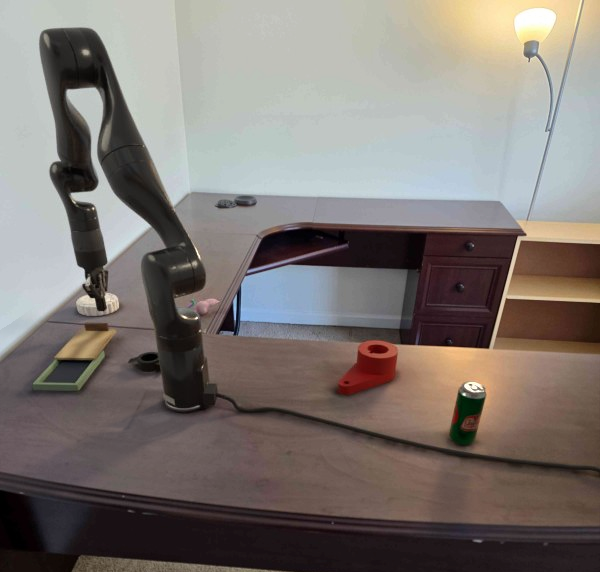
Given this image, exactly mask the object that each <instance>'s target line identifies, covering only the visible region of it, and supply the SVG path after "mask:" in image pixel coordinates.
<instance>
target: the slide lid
mask: <svg viewBox="0 0 600 572" xmlns="http://www.w3.org/2000/svg"><path fill="white" fill-rule="evenodd" d="M116 333H117V329H115V328H111V329H110V327H109V323H108V322H85V323H84V328H80V329H79V330H78V331H77V332H76V333H75V334H74V336H73V337H71V339H70V340H69V341H68V342H67V343H66V344H65V345H64V346H63V347H62V348H61V349H60V350H59V351H58V352H57V354H56V355H55V356H54V357H53V359H54V360H95V358H96V357H97V356H98V355H99V353H100V352H101V351H102V350H104V348H105V347H106V346H107V345H108V343H109V342H110V341H111V339H113V337H114V336H115V334H116Z"/></svg>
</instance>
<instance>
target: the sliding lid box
mask: <svg viewBox="0 0 600 572" xmlns="http://www.w3.org/2000/svg"><path fill="white" fill-rule="evenodd" d="M105 357H106V356H105V350H104V349H103V350H102V351H101V352H100V353H99V355H98V356H97V357H96V358H95V360H93V361H92V362H91V363H90V365H89V366H88V367H87V369H86V370H85V371H84V372H83V374H82V375H81V376H80V377H79V379H78V380H77V381H76V383H44V381H45V380H46V379H47V378H48V377H49V376H50V375H51V374H52V373H53V371H54V370H55V369H56V368H57V367H58V366H59V365H60V364H61V362H62V361H63V360H55V359H54V360H53V361H52V362H51V363H50V364H49V366H48V367H47V368H46V369H44V371H43V372H42V373H41V374H40V375H39V376H38V378H36V379H35V381H34V382H33V383H32V387H33V391H59V392H61V391H62V392H63V391H67V392H68V391H69V392H70V391H72V392H74V391H75V392H78V391H80V390H81V389H82V387H83V386H84V385H85V383H86V382H87V381H88V380H89V378H90V377H91V376H92V374H93V372H94V371H95V370H96V369H97V367H98V366H99V365H100V363H101V362H102V361H103V359H105Z"/></svg>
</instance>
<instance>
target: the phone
mask: <svg viewBox="0 0 600 572" xmlns="http://www.w3.org/2000/svg"><path fill="white" fill-rule="evenodd" d="M92 361H93V360H63V361H62V362H61V364H60V365H59V366H58V367H57V368H56V369H55V370H54V371H53V373H52V374H51V375H50V376H49V377H48V378H47V379H46V380H45V381H44V383H76V381H77V380H78V379H79V377H80V376H81V375H82V374H83V372H84V371H85V370H86V369H87V367H88V366H89V365H90V363H91V362H92Z"/></svg>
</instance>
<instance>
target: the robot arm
mask: <svg viewBox="0 0 600 572" xmlns="http://www.w3.org/2000/svg"><path fill="white" fill-rule="evenodd" d="M39 34H40V35H39V39H38V50H39V57H40V58H39V59H40V62H41V63H40V64H41V68H42V72H43V77H44V82H45V86H46V91H47V95H48V99H49V104H50V108H51V112H52V116H53V120H54V127H55V139H56V142H55V143H56V153H57V157H58V159H59V160H55V161H52V163H51V164H50V166H49V169H48V170H49V171H48V173H49V178H50V180H51V183H52V185H53V187H54V189H55V191H56V192H57V194H58V196H59V198H60V200H61V202H62V204H63V207H64V210H65V213H66V216H67V221H68V226H69V229H70V240H71V244H72V248H73V253H74V258H75V262H76V266H77V267H78V268H80V269H83V270H84V279H85V283H82V285H81V286H82V289H83V290H84V291H85V293H86V295H88V296H89V297H90V298H95V302H96V307H97V310H98V311H105V310H106V309H107V306H106V301H105V297H104V296H105V295H106V293H108V287H109V270H108V269H104V267H105V266H106V265H108V255H107V251H106V246H105V245H106V244H105V239H104V235H103V232H102V229H101V226H100V220H99V214H98V210H97V207H96V205H95V204H94V203H91V202H89V201H82V200H81V201H80V200H76V199H74V197H73V196H72V194H78V193H90V192H93V191H95V190H96V189H97V188H98V186H99V182H100V179H99V175H98V172H97V169H96V167H95V165H94V162H93V158H92V132H91V128H90V126H89V123H88V121H87V120H86V119H85V117H84V116H83V115H82V114H81V112H80V111H79V110H78V109H77V108H76V107H75V105H74V103H72V101H71V99H69V96H68V90H70V91H71V90H72V91H73V90H83V89H96V90H97V92H98V93H99V96H100V99H101V103H102V116H101V117H102V118H101V124H100V128H99V131H98V132H99V133H98V137H97V145H96V148H97V149H96V154H97V159H98V162H99V165H100V167H101V170H102V171H103V174H104V176H105V178H106V180H107V183H108V185H109V187H110V189H111V191H112V193H113V194H114V195H115V196H116V197H117V198H118V199H119V200H120V201H121V202H122V203H123V204H124V205H125V206H126V207H128V208H129V209H130V210H131V211H132V212H133V213H135V214H136V215H138V217H140V218H141V219H143V220H144V221H145V222H146V223H147V224H148V225H149V226H150V227H151V228H152V229H153V230H154V231H155V232H156V234H157V235H158V237H159V238H160V239H161V241H162V243H163V245H164V246H165V248H160V249H155V250H151V251H148V252H146V253H144V255H142V258H141V262H140V271H141V273H140V274H141V279H142V284H143V288H144V293H145V298H146V301H147V307H148V312H149V316H150V319H151V322H152V324H153V329H154V338H155V342H156V349H157V353H158V356H159V363H160V369H161V370H160V374H161V382H162V387H163V393H162V397H163V400H164V404H165V407H166V408H167V409H168V410H170V411H173V412H177V413H192V412H197V411H199V410H205V409H207V407H208V406H216V403H217V400H218V398H219V399H223V400H226V401H228V402H230V403H231V404H232V405H233V407H234V408H235V409H236V410H237V411H239V412H242V413H249V414H251V413H252V414H253V413H261V412H275V413H281V414H284V415H285V414H286V415H290V416H294V417H297V418H302V419H306V420H310V421H314V422H317V423H322V424H326V425H330V426H333V427H337V428H340V429H344V430H349V431H351V432H356V433H360V434H363V435H368V436H371V437H374V438H379V439H383V440H386V441H390V442H395V443H397V444H403V445H406V446H410V447H415V448H419V449H424V450H430V451H434V452H439V453H443V454H450V455H455V456H459V457H467V458H473V459H480V460H487V461H493V462H501V463H507V464H508V463H509V464H515V465H526V466H536V467H545V468H546V467H547V468H555V469H556V468H557V469H565V470H572V471H573V470H574V471H577V470H578V471H591V472H593V471H594V472H597V473H599V474H600V467H599V466H595V465H587V464H584V465H583V464H582V465H581V464H567V463H560V462H549V461H538V460H528V459H519V458H510V457H502V456H501V457H500V456H495V455H487V454H481V453H474V452H467V451H463V450H457V449H456V450H455V449H451V448H445V447H441V446H436V445H435V446H434V445H430V444H425V443H420V442H416V441H412V440H408V439H403V438H398V437H394V436H390V435H386V434H383V433H378V432H376V431H371V430H367V429H364V428H359V427H356V426H352V425H348V424H344V423H341V422H337V421H333V420H329V419H325V418H320V417H317V416H313V415H310V414H305V413H301V412H298V411H293V410H289V409H285V408H279V407H272V406H266V407H256V408H245V407H242V406H240V405H238V403H237V401H236V400H235V399H234V398H232V397H230V396H228V395H225V394H223V393H220V392H219V391H218V383H214V382H213V383H212V382H211V383H210V375H209V366H208V365H209V364H208V357H207V356H205V350H204V342H203V341H204V340H203V330H202V329H203V328H202V320H201V319H202V318H201V315H199V314H198V313H197V312H195V311H193V310H194V309H192V308H189V309H187V307H179V306H177V304H176V299H177V298H181V297H185V296H188V295H192V294H195V293H198V292H200V291H202V290H203V289H204V288H205V286H206V284H207V272H206V267H205V264H204V261H203V259H202V257H201V255H200V252H199V251H198V249H197V246H196V245H195V243H194V242H193V240H192V238H191V235H189V232H188V231H187V229H186V227H185V226H184V224H183V222H182V220H181V219H180V216H179V214H178V212H177V211H176V209H175V207H174V205H173V203H172V201H171V199H170V196H169V194H168V193H167V190H166V188H165V186H164V184H163V181H162V179H161V176H160V174H159V171H158V169H157V167H156V164H155V162H154V160H153V158H152V156H151V153H150V151H149V149H148V147H147V145H146V143H145V140H144V139H143V137H142V135H141V132H140V131H139V129H138V127H137V124H136V121H135V119H134V118H133V115H132V113H131V111H130V109H129V106H128V103H127V101H126V98H125V96H124V93H123V90H122V88H121V85H120V82H119V79H118V77H117V74H116V72H115V68H114V65H113V63H112V61H111V58H110V55H109V53H108V50H107V48H106V45H105V43H104V42H103V40H102V38H101V36H100V35H99V34H98V32H97V31H96V30H94V29H93V28H89V27H83V26H81V27H79V26H78V27H75V26H74V27H53V28H46V29H43V30H42V31H41V32H40V33H39Z"/></svg>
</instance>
